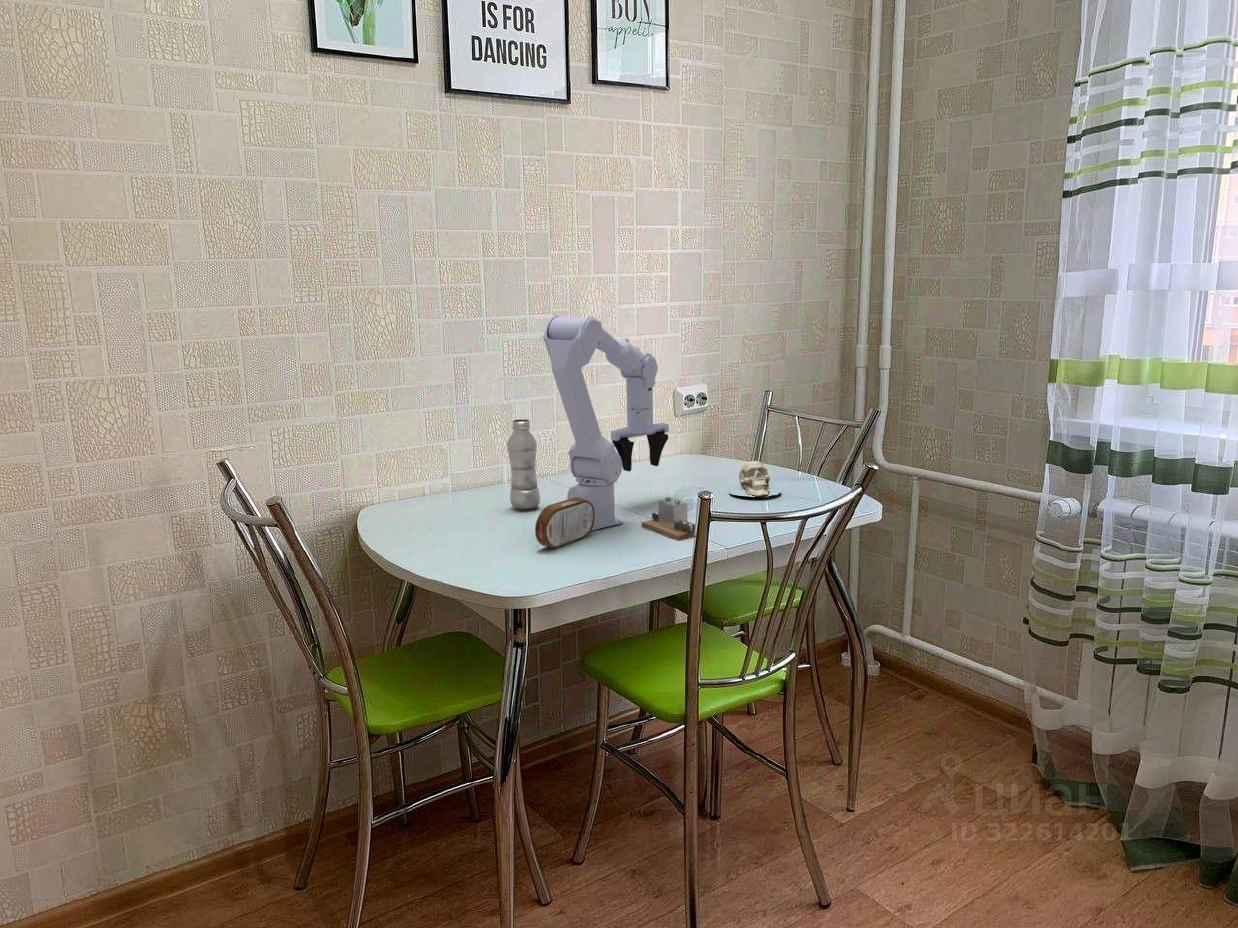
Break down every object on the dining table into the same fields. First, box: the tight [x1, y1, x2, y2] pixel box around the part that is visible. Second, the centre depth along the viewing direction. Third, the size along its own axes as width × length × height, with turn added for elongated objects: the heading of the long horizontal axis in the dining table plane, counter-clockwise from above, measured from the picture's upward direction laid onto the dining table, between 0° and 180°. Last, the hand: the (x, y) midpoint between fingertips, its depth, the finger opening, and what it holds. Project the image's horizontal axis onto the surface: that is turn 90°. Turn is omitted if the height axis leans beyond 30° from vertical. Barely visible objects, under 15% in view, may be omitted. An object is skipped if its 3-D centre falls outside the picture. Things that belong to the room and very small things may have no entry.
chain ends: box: [651, 511, 696, 532], centre depth 187 cm, size 2×12×2 cm, turn 35°
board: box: [641, 519, 697, 541], centre depth 187 cm, size 7×12×1 cm, turn 35°
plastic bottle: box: [506, 418, 541, 511], centre depth 203 cm, size 6×7×20 cm
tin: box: [534, 497, 595, 549], centre depth 180 cm, size 15×3×8 cm, turn 141°
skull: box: [738, 460, 771, 498], centre depth 213 cm, size 12×12×8 cm
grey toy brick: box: [658, 496, 689, 530], centre depth 186 cm, size 4×5×6 cm
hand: (640, 467), depth 205 cm, fingers open, 7 cm apart
